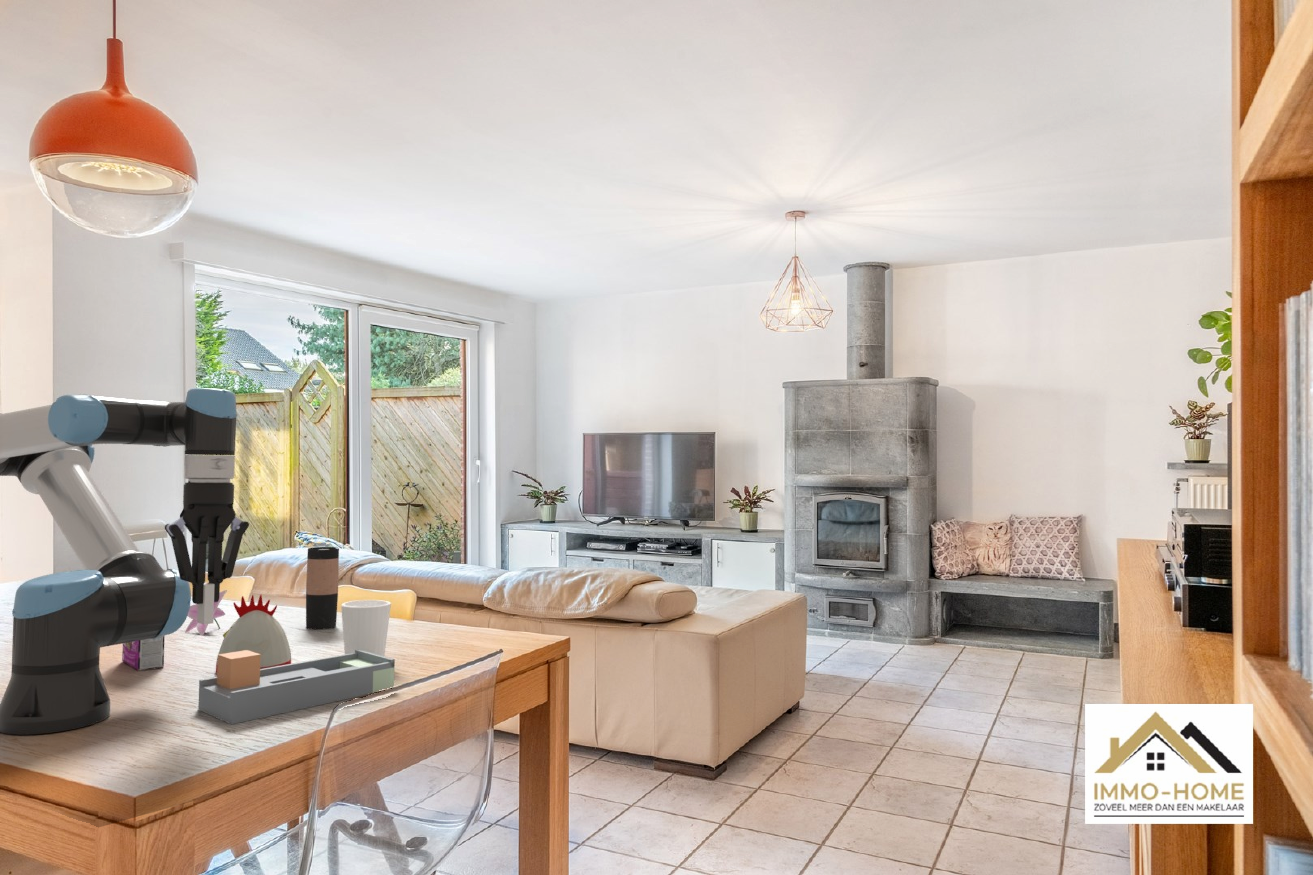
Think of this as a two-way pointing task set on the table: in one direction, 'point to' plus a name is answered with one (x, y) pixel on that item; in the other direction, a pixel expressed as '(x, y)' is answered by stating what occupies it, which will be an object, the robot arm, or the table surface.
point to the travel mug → (322, 587)
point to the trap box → (298, 686)
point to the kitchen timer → (257, 635)
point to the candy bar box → (144, 653)
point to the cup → (365, 625)
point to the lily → (193, 615)
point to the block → (238, 669)
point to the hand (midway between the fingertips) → (205, 622)
